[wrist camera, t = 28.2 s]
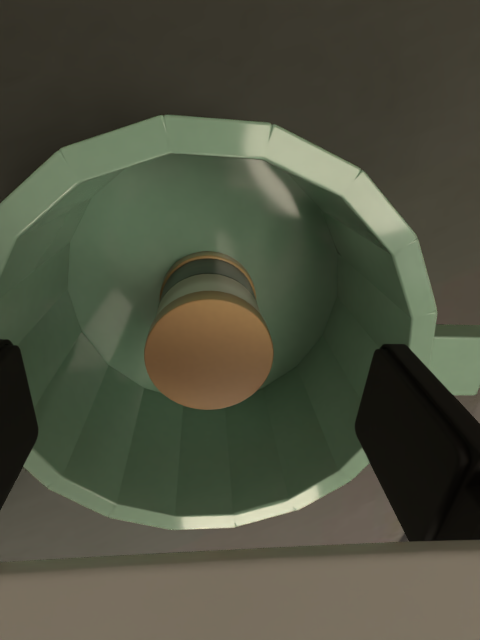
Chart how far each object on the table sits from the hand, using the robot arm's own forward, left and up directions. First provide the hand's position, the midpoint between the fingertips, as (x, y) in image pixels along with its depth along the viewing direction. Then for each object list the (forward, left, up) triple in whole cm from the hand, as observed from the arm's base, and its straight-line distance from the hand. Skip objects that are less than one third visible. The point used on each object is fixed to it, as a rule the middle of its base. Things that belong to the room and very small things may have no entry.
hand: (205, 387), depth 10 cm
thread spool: (+1, 0, -8) cm, 8 cm away
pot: (+1, 0, -9) cm, 9 cm away
